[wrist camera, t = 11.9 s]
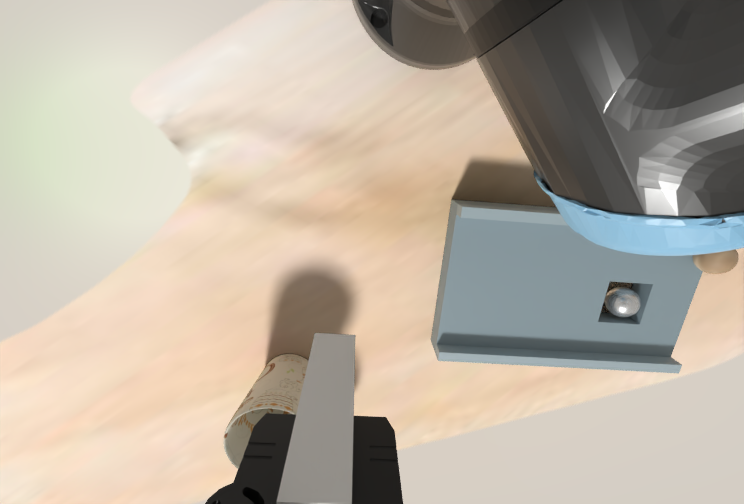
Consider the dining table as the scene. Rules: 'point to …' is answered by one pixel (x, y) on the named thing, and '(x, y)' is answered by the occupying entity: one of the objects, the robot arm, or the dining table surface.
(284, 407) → the mug
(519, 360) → the plate
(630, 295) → the steel ball
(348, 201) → the dining table surface
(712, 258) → the cork ball
